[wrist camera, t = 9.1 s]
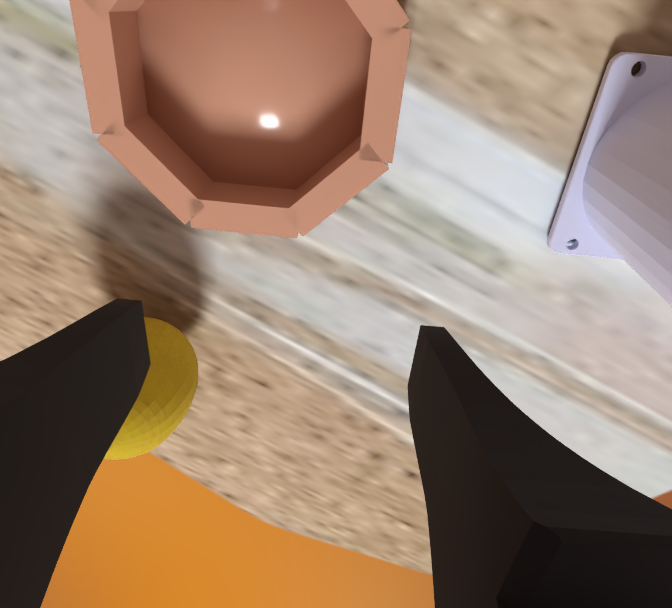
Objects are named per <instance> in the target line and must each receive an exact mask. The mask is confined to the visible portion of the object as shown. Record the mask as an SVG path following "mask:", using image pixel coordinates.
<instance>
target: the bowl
mask: <svg viewBox="0 0 672 608" xmlns="http://www.w3.org/2000/svg"><path fill="white" fill-rule="evenodd" d="M69 1H70V6H71V12H72V18H73V24H74V29H75V35H76V41H77V46H78V52H79V58H80V64H81V69H82V75H83V81H84V86H85V92H86V98H87V104H88V109H89V115H90V121H91V127H92V132H93V133H96V134H101V136H100V137H99V138H98V139H97V141H98V142H99V143H100V144H101V145H102V146H103V147H104V148H105V149H106V150H107V151H108V152H109V153H111V154H112V155H113V156H114V157H115V158H116V159H117V160H118V161H119V162H120V163H121V164H122V165H123V166H124V167H125V168H126V169H127V170H128V171H129V172H130V173H131V174H132V175H133V176H135V177H136V178H137V179H138V180H139V181H140V182H141V183H142V184H143V185H144V186H145V187H146V188H147V189H148V190H149V191H150V192H151V193H152V194H153V195H154V196H155V197H156V198H157V199H159V200H160V201H161V202H162V203H163V204H164V205H165V206H166V207H167V208H168V209H169V210H170V211H171V212H172V213H173V214H174V215H175V216H176V217H177V218H178V219H179V220H180V221H181V222H183V223H184V224H186V223H187V222H189V221H191V228H199V229H209V230H219V231H230V232H240V233H250V234H260V235H270V236H280V237H290V238H297V236H298V232H299V233H300V234H301V235H302V236H304V235H305V234H307V233H308V232H309V231H310V230H312V229H313V228H314V227H316V226H317V225H318V224H319V223H321V222H322V221H323V220H325V219H326V218H327V217H328V216H330V215H331V214H332V213H333V212H335V211H336V210H337V209H339V208H340V207H341V206H342V205H344V204H345V203H346V202H347V201H349V200H350V199H351V198H353V197H354V196H355V195H356V194H358V193H359V192H360V191H361V190H363V189H364V188H365V187H367V186H368V185H369V184H370V183H372V182H373V181H374V180H375V179H377V178H378V177H379V176H381V175H382V174H383V173H384V172H386V171H387V170H388V163H392V161H393V154H394V147H395V140H396V133H397V127H398V120H399V113H400V106H401V99H402V92H403V86H404V79H405V72H406V65H407V58H408V52H409V45H410V38H411V31H412V29H410V28H408V27H405V26H404V25H405V24H406V23H408V22H409V21H410V20H409V18H408V17H407V15H406V14H405V12H404V11H403V9H402V7H401V6H400V4H399V3H398V1H397V0H69Z"/></svg>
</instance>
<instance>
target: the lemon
mask: <svg viewBox="0 0 672 608" xmlns="http://www.w3.org/2000/svg"><path fill="white" fill-rule="evenodd" d="M144 321H145V327H146V334H147V341H148V348H149V355H150V361H151V365H150V367H149V370H148V373H147V376H146V378H145V381H144V384H143V386H142V389H141V391H140V393H139V396H138V398H137V400H136V402H135V404H134V405H133V407H132V409H131V411H130V413H129V414H128V416H127V418H126V420H125V422H124V423H123V425H122V427H121V429H120V430H119V432H118V434H117V436H116V437H115V439H114V441H113V443H112V444H111V446H110V448H109V450H108V451H107V453H106V455H105V457H104V459H113V460H116V459H127V458H132V457H135V456H139V455H142V454H145V453H146V452H149V451H150V450H152V449H153V448H155V447H157V446H158V445H159V444H161V443H162V442H163V441H164V440H166V439H167V438H168V437H169V435H170V434H171V433H172V432H173V431H174V430H175V428H176V427H177V426H178V425H179V423H180V422H181V421H182V419H183V418H184V416H185V415H186V413H187V412H188V410H189V408H190V406H191V403H192V400H193V397H194V394H195V392H196V388H197V384H198V362H197V358H196V355H195V352H194V349H193V347H192V345H191V344H190V342H189V341H188V339H187V338H186V336H185V335H184V334H183V333H181V332H180V331H179V330H178V329H177V328H176V327H174V326H172V325H171V324H169V323H167V322H165V321H162V320H160V319H155V318H150V317H144Z"/></svg>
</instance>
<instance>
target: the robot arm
mask: <svg viewBox="0 0 672 608" xmlns="http://www.w3.org/2000/svg"><path fill="white" fill-rule="evenodd" d="M639 61H640V63H641V69H640V71H639V72H638V73H637V74H636V75H633V76H632V74H631V68H632V67H633V65H634V64H635V63H637V62H639ZM571 239H575V242H574V244H573V245H571V246H566V244H567V242H568V241H570V240H571ZM547 245H548V247H549V248H550V250H551V251H552V252H555V253H560V254H570V255H580V256H590V257H600V258H610V259H620V260H624V261H625V262H626V263H627V264H628V265H629V266H630V267H631V268H632V269H633V270H634V271H636V272H637V273H638V274H639V275H640V276H641V277H642V278H643V279H644V280H645V281H646V282H647V283H648V284H649V285H650V286H651V287H652V288H653V289H654V290H655V291H656V292H657V293H658V294H659V295H660V296H661V297H662V298H663V299H664V300H665V301H666V302H667V303H668V304H669V305H670V306H671V307H672V56H664V55H654V54H645V53H635V52H620V53H618V54H616V55H615V56H614V57H613V58H612V59H611V60H610V61H609V63H608V65H607V68H606V71H605V74H604V76H603V79H602V82H601V85H600V88H599V91H598V94H597V97H596V100H595V103H594V105H593V108H592V111H591V114H590V117H589V120H588V123H587V126H586V129H585V132H584V134H583V137H582V140H581V143H580V146H579V149H578V152H577V155H576V158H575V160H574V163H573V166H572V169H571V172H570V175H569V178H568V181H567V184H566V187H565V189H564V192H563V195H562V198H561V201H560V204H559V207H558V210H557V213H556V215H555V218H554V221H553V224H552V227H551V230H550V233H549V236H548V239H547ZM150 365H151V361H150V355H149V348H148V341H147V334H146V327H145V321H144V314H143V307H142V301H137V300H126V299H116V300H114V301H112V302H110V303H108V304H106V305H104V306H103V307H101V308H99V309H97V310H95V311H94V312H92V313H90V314H88V315H87V316H85V317H83V318H81V319H80V320H78V321H76V322H74V323H73V324H71V325H69V326H67V327H65V328H64V329H62V330H60V331H58V332H57V333H55V334H53V335H51V336H49V337H48V338H46V339H44V340H42V341H40V342H38V343H36V344H34V345H32V346H30V347H28V348H26V349H24V350H22V351H21V352H19V353H17V354H15V355H13V356H11V357H9V358H7V359H5V360H2V361H0V608H40V607H41V604H42V601H43V598H44V596H45V593H46V591H47V588H48V585H49V582H50V580H51V577H52V574H53V572H54V569H55V566H56V564H57V561H58V559H59V556H60V554H61V551H62V549H63V546H64V544H65V541H66V539H67V536H68V534H69V531H70V529H71V526H72V524H73V521H74V519H75V517H76V514H77V512H78V510H79V508H80V505H81V503H82V500H83V498H84V496H85V494H86V491H87V489H88V487H89V485H90V483H91V481H92V479H93V477H94V475H95V473H96V471H97V469H98V467H99V466H100V464H101V462H102V460H103V458H104V457H105V455H106V453H107V451H108V450H109V448H110V446H111V444H112V443H113V441H114V439H115V437H116V436H117V434H118V432H119V430H120V429H121V427H122V425H123V423H124V422H125V420H126V418H127V416H128V414H129V413H130V411H131V409H132V407H133V405H134V404H135V402H136V400H137V398H138V396H139V393H140V391H141V389H142V386H143V384H144V381H145V378H146V376H147V373H148V370H149V367H150ZM408 400H409V415H410V423H411V428H412V434H413V439H414V444H415V449H416V454H417V459H418V464H419V469H420V474H421V479H422V484H423V489H424V494H425V501H426V507H427V514H428V525H429V536H430V547H431V559H432V572H433V585H434V600H435V608H672V509H670V508H668V507H666V506H664V505H662V504H660V503H659V502H657V501H655V500H653V499H651V498H649V497H647V496H645V495H644V494H642V493H640V492H638V491H636V490H634V489H632V488H630V487H629V486H627V485H625V484H624V483H622V482H620V481H619V480H617V479H615V478H614V477H612V476H610V475H609V474H607V473H605V472H604V471H602V470H600V469H599V468H597V467H596V466H594V465H593V464H591V463H590V462H588V461H587V460H585V459H583V458H582V457H581V456H579V455H578V454H576V453H575V452H573V451H572V450H571V449H569V448H568V447H566V446H565V445H564V444H562V443H561V442H559V441H558V440H557V439H555V438H554V437H553V436H551V435H550V434H549V433H547V432H546V431H545V430H544V429H542V428H541V427H540V426H539V425H538V424H536V423H535V422H534V421H533V420H532V419H530V418H529V417H528V416H527V415H526V414H524V413H523V412H522V411H521V410H520V409H519V408H518V407H517V406H515V405H514V404H513V403H512V402H511V401H510V400H509V399H508V398H507V397H506V396H505V395H504V394H503V393H502V392H501V391H500V390H499V389H498V388H497V387H496V386H495V385H494V384H493V383H492V382H491V381H490V380H489V379H488V378H487V377H486V376H485V374H484V373H483V372H482V371H481V370H480V369H479V368H478V367H477V366H476V364H475V363H474V362H473V361H472V360H471V359H470V358H469V356H468V355H467V354H466V353H465V352H464V350H463V349H462V348H461V347H460V346H459V344H458V343H457V342H456V341H455V340H454V338H453V337H452V336H451V335H450V334H449V332H448V331H447V330H446V329H445V328H444V327H435V326H424V325H421V326H420V331H419V335H418V340H417V345H416V349H415V354H414V359H413V363H412V368H411V373H410V377H409V382H408Z"/></svg>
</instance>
